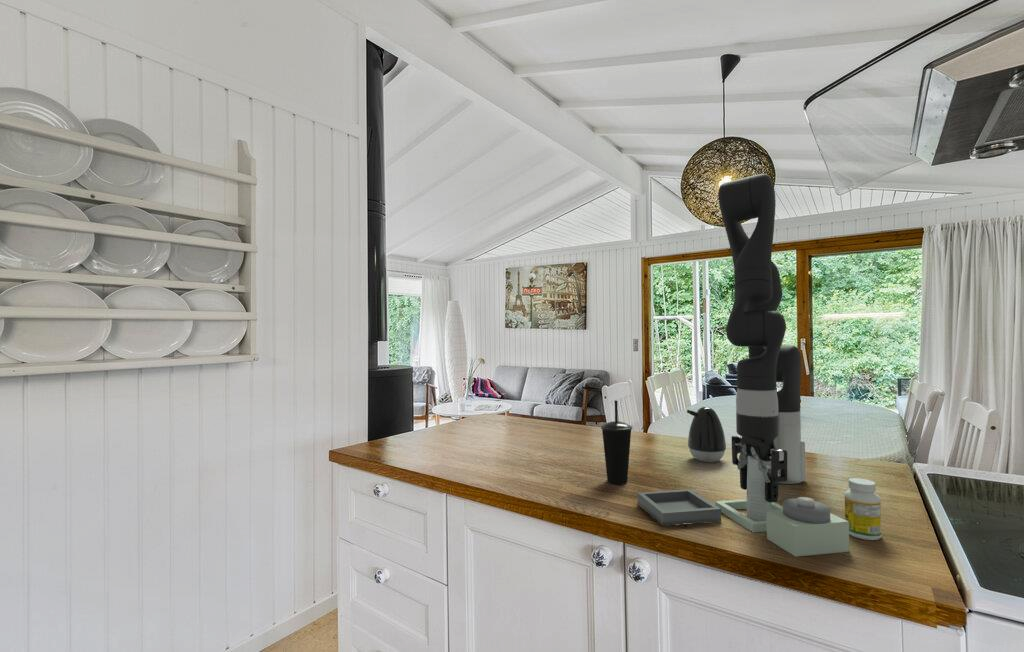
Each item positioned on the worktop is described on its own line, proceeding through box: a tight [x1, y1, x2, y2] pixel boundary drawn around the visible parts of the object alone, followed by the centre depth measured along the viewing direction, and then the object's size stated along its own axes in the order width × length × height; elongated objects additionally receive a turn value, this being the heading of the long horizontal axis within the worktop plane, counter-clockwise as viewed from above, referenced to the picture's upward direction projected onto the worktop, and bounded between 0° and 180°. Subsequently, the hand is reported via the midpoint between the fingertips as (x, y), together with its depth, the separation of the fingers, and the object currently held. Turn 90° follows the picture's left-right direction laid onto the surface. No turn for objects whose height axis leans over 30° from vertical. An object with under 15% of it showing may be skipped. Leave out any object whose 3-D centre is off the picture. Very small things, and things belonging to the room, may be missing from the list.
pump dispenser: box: [686, 406, 727, 463], centre depth 140 cm, size 10×10×15 cm
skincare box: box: [746, 456, 771, 521], centre depth 97 cm, size 6×4×12 cm
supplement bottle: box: [843, 477, 882, 541], centre depth 88 cm, size 5×5×10 cm
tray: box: [637, 488, 722, 527], centre depth 100 cm, size 12×12×2 cm
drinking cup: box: [600, 400, 633, 485], centre depth 121 cm, size 8×8×20 cm
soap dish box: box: [714, 496, 850, 558], centre depth 92 cm, size 11×22×8 cm, turn 9°
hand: (758, 494), depth 97 cm, fingers closed on skincare box, 7 cm apart
